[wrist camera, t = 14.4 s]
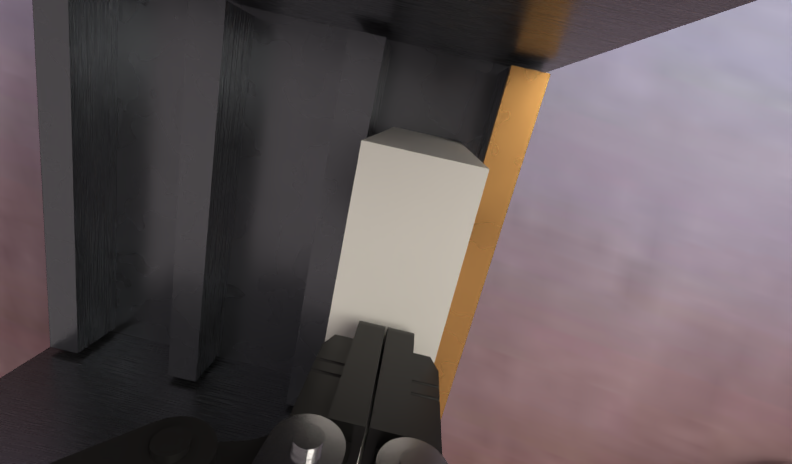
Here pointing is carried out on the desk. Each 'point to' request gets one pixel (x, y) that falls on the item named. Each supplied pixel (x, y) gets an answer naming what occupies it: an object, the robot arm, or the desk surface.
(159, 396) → the rack
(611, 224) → the desk surface
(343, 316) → the panel
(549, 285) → the desk surface
